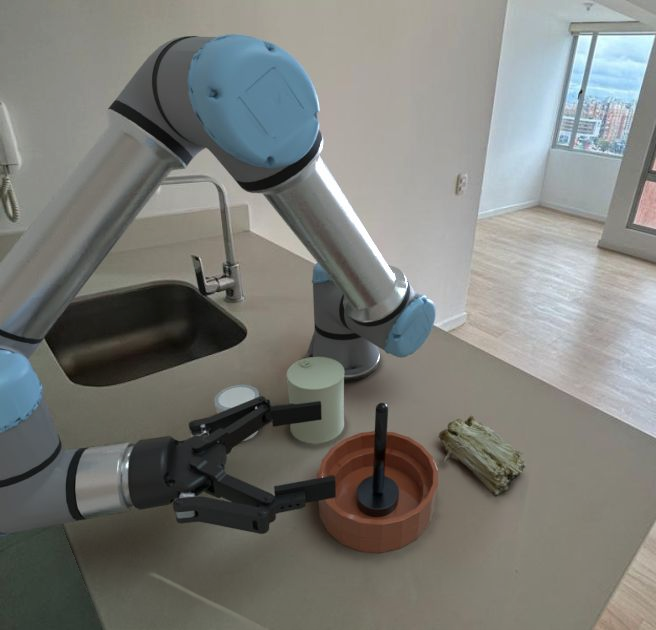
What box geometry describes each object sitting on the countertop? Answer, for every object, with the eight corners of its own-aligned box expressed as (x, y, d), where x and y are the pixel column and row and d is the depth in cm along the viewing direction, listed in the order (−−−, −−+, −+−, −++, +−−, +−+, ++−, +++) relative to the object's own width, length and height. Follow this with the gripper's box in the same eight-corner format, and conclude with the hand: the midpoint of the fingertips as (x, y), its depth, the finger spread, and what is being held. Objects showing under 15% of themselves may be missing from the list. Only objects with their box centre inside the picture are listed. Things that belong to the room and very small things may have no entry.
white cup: (271, 428, 76) (268, 395, 73) (236, 451, 71) (231, 416, 68) (245, 411, 79) (241, 378, 76) (210, 432, 74) (204, 398, 71)
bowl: (353, 447, 74) (353, 419, 71) (448, 479, 69) (452, 450, 66) (295, 528, 60) (293, 496, 57) (409, 575, 55) (412, 543, 52)
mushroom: (429, 452, 74) (432, 426, 72) (468, 428, 80) (472, 404, 77) (496, 509, 65) (502, 483, 62) (535, 478, 71) (542, 452, 68)
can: (321, 403, 83) (319, 347, 77) (355, 426, 78) (356, 369, 72) (278, 427, 76) (273, 368, 71) (313, 454, 71) (310, 394, 66)
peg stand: (367, 477, 67) (371, 384, 60) (404, 490, 66) (412, 397, 58) (348, 508, 62) (349, 411, 54) (388, 523, 61) (394, 425, 53)
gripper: (161, 426, 62) (317, 406, 69) (112, 606, 41) (343, 552, 48) (151, 382, 59) (316, 365, 65) (91, 554, 38) (343, 503, 44)
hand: (327, 444), depth 56 cm, fingers open, 13 cm apart
